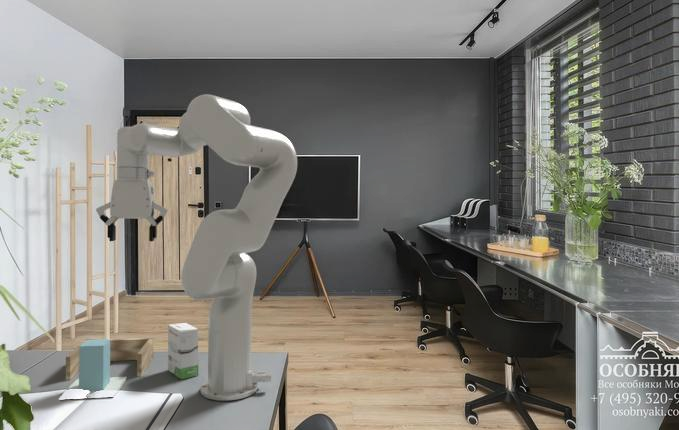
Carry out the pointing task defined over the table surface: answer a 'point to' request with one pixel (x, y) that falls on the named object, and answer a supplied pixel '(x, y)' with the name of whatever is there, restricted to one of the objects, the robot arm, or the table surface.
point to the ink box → (183, 350)
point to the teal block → (94, 364)
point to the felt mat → (113, 385)
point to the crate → (118, 354)
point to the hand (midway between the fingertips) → (132, 240)
